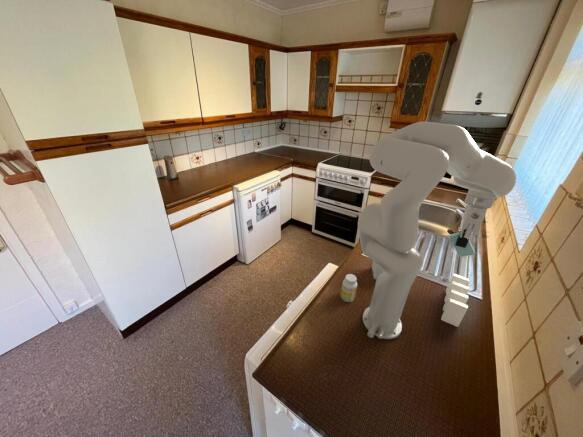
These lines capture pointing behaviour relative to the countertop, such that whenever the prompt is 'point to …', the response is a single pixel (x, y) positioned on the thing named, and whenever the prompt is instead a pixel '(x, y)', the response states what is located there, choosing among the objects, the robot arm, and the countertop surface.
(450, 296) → the domino
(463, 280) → the domino
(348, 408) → the countertop surface
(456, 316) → the domino
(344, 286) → the supplement bottle
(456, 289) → the domino
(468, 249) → the domino
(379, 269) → the small box
